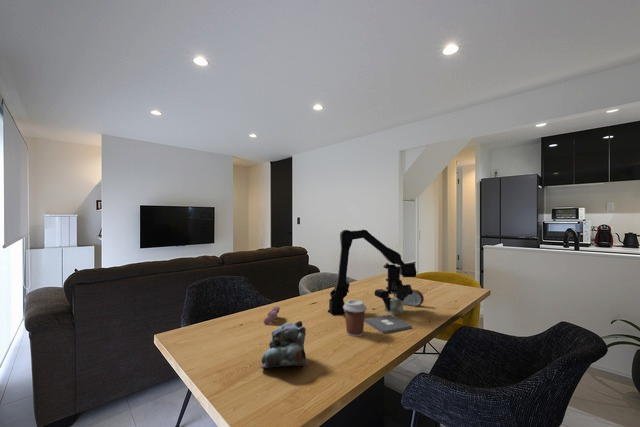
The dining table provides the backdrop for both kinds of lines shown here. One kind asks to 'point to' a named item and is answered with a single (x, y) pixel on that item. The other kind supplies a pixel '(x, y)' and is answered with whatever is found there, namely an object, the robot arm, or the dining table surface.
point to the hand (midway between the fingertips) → (393, 309)
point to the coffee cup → (354, 317)
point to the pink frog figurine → (272, 315)
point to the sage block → (395, 306)
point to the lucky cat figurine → (286, 346)
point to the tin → (413, 299)
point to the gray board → (387, 324)
